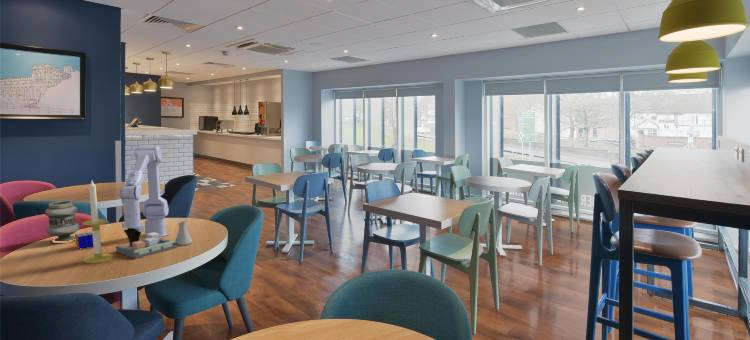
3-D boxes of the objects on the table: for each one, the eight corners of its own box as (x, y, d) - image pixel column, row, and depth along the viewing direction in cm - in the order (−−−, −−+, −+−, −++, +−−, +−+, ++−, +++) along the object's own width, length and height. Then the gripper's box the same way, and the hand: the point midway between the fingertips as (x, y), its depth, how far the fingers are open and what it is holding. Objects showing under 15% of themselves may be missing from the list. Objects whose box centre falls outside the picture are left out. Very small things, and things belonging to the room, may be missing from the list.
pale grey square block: (147, 242, 180) (147, 233, 180) (154, 240, 183) (154, 232, 183) (152, 244, 178) (151, 235, 178) (159, 242, 181) (159, 233, 180)
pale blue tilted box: (144, 248, 172) (144, 239, 172) (152, 246, 175) (151, 237, 174) (149, 250, 170) (149, 241, 170) (157, 248, 173) (156, 239, 172)
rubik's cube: (76, 246, 178) (75, 234, 177) (91, 243, 182) (90, 231, 182) (79, 249, 174) (78, 236, 174) (94, 246, 178) (93, 234, 178)
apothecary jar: (41, 242, 183) (37, 203, 181) (70, 235, 194) (66, 198, 192) (58, 246, 178) (54, 206, 176) (86, 238, 189) (83, 201, 187)
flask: (185, 246, 179) (184, 224, 178) (171, 245, 181) (169, 223, 180) (195, 241, 186) (194, 220, 185) (181, 240, 188) (180, 219, 187)
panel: (116, 251, 172) (115, 244, 172) (156, 241, 186) (155, 234, 186) (135, 258, 163) (135, 251, 163) (175, 247, 178) (175, 240, 177)
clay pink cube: (132, 251, 168) (132, 242, 168) (140, 249, 171) (140, 240, 170) (137, 253, 166) (136, 244, 165) (145, 251, 169) (144, 242, 168)
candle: (90, 265, 156) (83, 182, 152) (78, 260, 161) (71, 179, 157) (117, 257, 165) (112, 178, 160) (105, 253, 170) (99, 176, 166)
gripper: (113, 213, 169) (115, 244, 171) (130, 218, 161) (133, 251, 163) (130, 210, 175) (133, 240, 177) (148, 214, 167) (150, 246, 169)
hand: (134, 245), depth 170 cm, fingers closed
